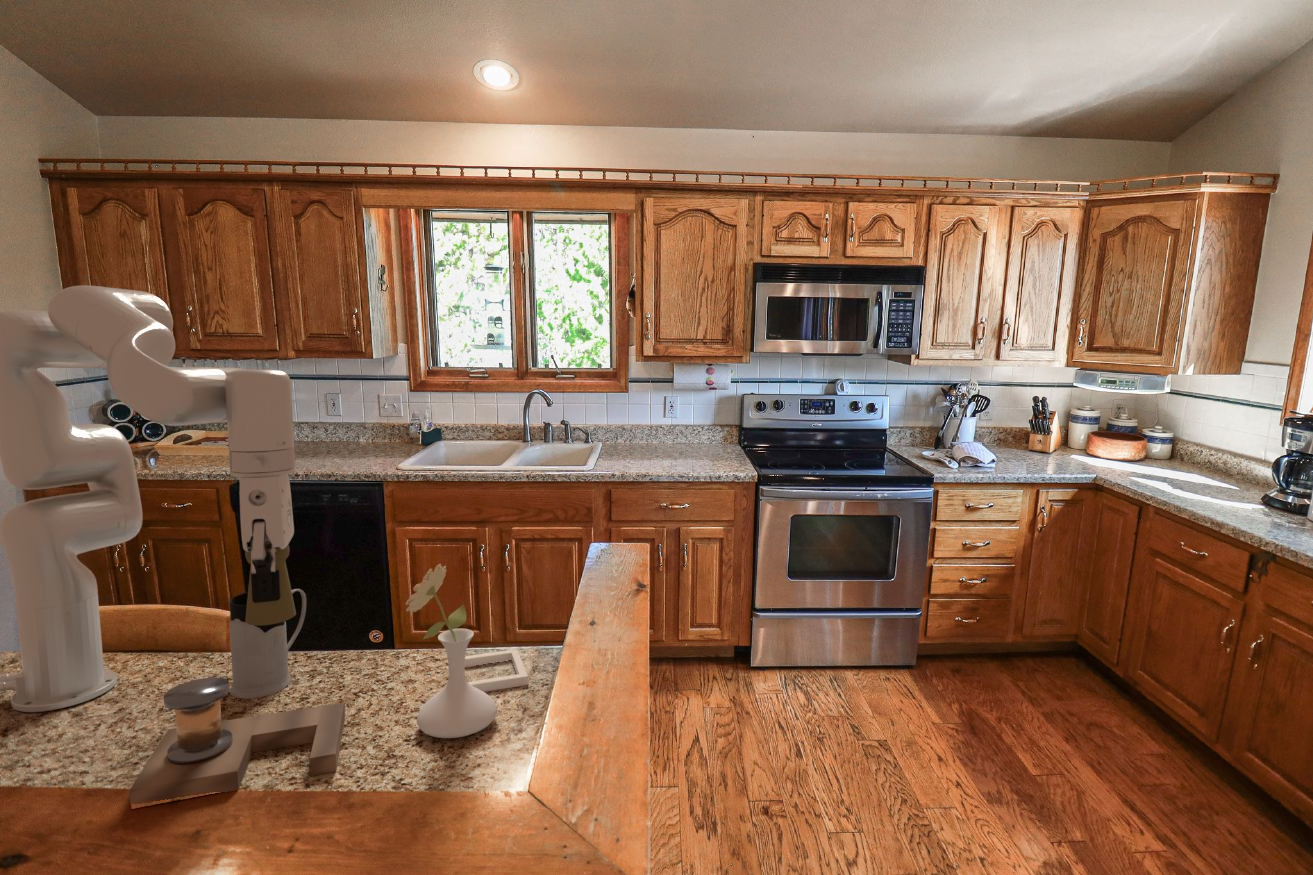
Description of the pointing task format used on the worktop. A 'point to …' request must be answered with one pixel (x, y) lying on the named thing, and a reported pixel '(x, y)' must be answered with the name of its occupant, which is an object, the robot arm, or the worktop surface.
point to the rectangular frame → (499, 681)
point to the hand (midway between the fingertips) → (269, 593)
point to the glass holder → (259, 652)
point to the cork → (272, 609)
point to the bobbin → (198, 720)
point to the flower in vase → (451, 672)
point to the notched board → (243, 753)
